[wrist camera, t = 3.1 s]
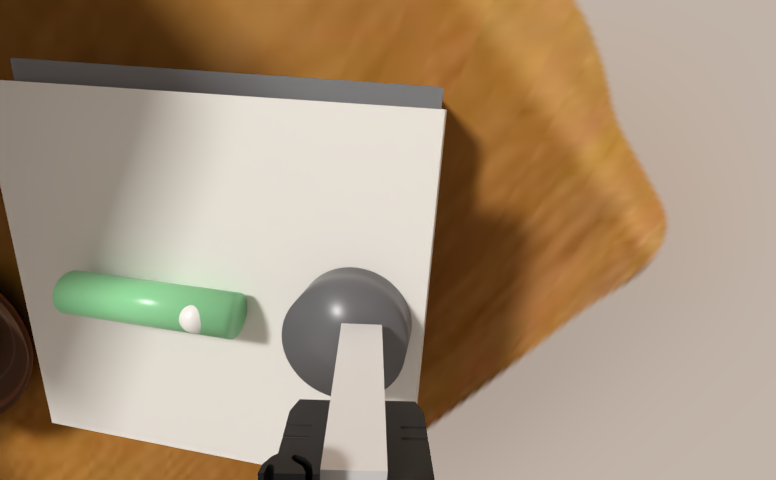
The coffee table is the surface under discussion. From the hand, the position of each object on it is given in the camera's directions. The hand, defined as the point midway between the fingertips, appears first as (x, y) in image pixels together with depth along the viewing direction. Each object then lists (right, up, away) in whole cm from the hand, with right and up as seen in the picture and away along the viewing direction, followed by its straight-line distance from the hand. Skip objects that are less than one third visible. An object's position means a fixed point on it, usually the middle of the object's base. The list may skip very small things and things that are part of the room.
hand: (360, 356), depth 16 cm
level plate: (-7, +2, +5) cm, 9 cm away
